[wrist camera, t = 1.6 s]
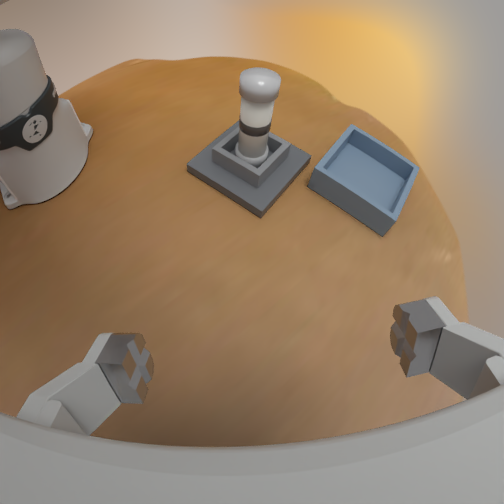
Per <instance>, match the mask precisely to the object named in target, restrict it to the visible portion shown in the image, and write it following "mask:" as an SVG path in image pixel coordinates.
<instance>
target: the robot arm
mask: <svg viewBox="0 0 504 504" xmlns="http://www.w3.org/2000/svg"><path fill="white" fill-rule="evenodd" d="M7 1H9V0H0V5H1V4H3V3H5V2H7ZM92 133H93V129H92V127H91V126H90V125H88V124H85V123H81V122H80V121H79V119H78V117H77V115H76V113H75V110H74V108H73V106H72V104H71V102H70V101H69V100H65V99H63V98H58V95H57V92H56V88H55V85H54V83H53V82H52V81H51V78H50V77H49V76H48V75H46V73H45V71H44V68H43V66H42V63H41V60H40V57H39V54H38V51H37V48H36V46H35V42H34V39H33V38H32V37H31V36H30V35H29V34H28V33H26V32H24V31H22V30H18V29H6V30H0V189H1V193H2V196H3V200H4V203H5V205H6V207H7V208H8V209H13V208H15V207H17V206H20V205H22V204H35V203H40V202H43V201H46V200H48V199H50V198H52V197H54V196H55V195H57V194H58V193H60V192H61V191H63V190H64V189H65V188H66V187H67V186H68V185H69V184H70V183H71V182H72V181H73V180H74V179H75V178H76V177H77V175H78V174H79V173H80V171H81V170H82V168H83V166H84V164H85V162H86V159H87V155H88V142H89V140H90V138H91V136H92ZM393 317H394V319H395V323H394V324H393V325H392V326H391V331H390V341H391V346H392V349H393V351H394V353H395V354H396V355H397V356H399V357H401V359H400V365H401V367H402V369H403V371H404V373H405V375H406V377H411V376H415V375H419V374H423V373H427V372H430V374H431V375H433V376H434V377H436V378H437V379H439V380H440V381H441V382H443V383H444V384H446V385H447V386H449V387H450V388H451V389H453V390H454V391H456V392H457V393H459V394H460V395H461V396H463V397H464V398H466V399H467V400H465V401H463V402H460V403H457V404H455V405H452V406H449V407H446V408H444V409H441V410H438V411H435V412H432V413H429V414H426V415H422V416H419V417H416V418H413V419H409V420H406V421H402V422H398V423H395V424H391V425H387V426H383V427H379V428H375V429H370V430H366V431H361V432H357V433H352V434H346V435H341V436H335V437H330V438H323V439H317V440H310V441H302V442H293V443H284V444H273V445H259V446H239V447H188V446H168V445H155V444H144V443H134V442H126V441H119V440H112V439H105V438H99V437H93V436H89V435H90V434H92V433H93V432H94V431H95V430H96V429H97V428H98V427H99V426H100V425H101V424H102V423H103V422H104V421H105V420H106V419H107V418H108V417H109V416H110V415H111V414H112V413H113V412H114V411H115V410H116V409H117V408H118V407H119V406H120V405H121V403H139V404H143V403H144V400H145V397H146V394H147V391H148V387H147V385H146V383H148V382H149V381H150V380H151V379H152V376H153V373H154V363H153V358H152V356H151V354H150V352H149V351H147V350H146V349H145V348H144V346H145V344H146V342H145V339H144V337H143V335H142V334H140V333H101V334H99V335H98V337H97V338H96V340H95V342H94V343H93V345H92V347H91V348H90V350H89V351H88V353H87V355H86V356H85V358H84V360H83V361H82V363H77V364H75V365H74V366H72V367H71V368H69V369H68V370H66V371H65V372H63V373H62V374H60V375H59V376H57V377H56V378H54V379H53V380H51V381H49V382H48V383H46V384H45V385H43V386H42V387H40V388H39V389H37V390H36V391H34V392H33V393H31V394H30V395H29V397H28V398H27V400H26V402H25V403H24V405H23V407H22V408H21V410H20V412H19V413H18V415H17V417H13V416H10V415H7V414H4V413H1V412H0V504H504V339H503V338H500V337H498V336H496V335H493V334H491V333H489V332H486V331H484V330H481V329H479V328H477V327H474V326H472V325H469V324H467V323H465V322H461V323H459V321H458V320H457V319H456V318H455V317H454V315H453V314H452V313H451V312H450V311H449V309H448V308H447V307H446V306H445V305H444V304H443V302H442V301H441V300H440V299H439V298H438V297H436V296H433V297H429V298H425V299H422V300H418V301H413V302H408V303H403V304H398V305H395V307H394V310H393Z"/></svg>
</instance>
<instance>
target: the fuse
mask: <svg viewBox="0 0 504 504" xmlns="http://www.w3.org/2000/svg"><path fill="white" fill-rule="evenodd" d="M280 82H281V78H280V76H279V75H278V74H277V73H276V72H274V71H272V70H269V69H266V68H250V69H246V70H244V71H243V72H242V73H241V75H240V86H239V93H240V95H241V96H242V97H241V111H240V119H239V140H238V142H237V144H236V150H235V156H237V157H239V158H240V159H242V160H244V161H246V162H247V163H249V164H251V165H252V166H254V167H256V168H257V169H258V168H259V167H260V166H261V165H262V164H263V163H264V162H265V161H266V160H267V156H268V150H269V149H268V145H267V142H268V136H269V131H270V127H271V121H272V112H273V106H274V100H275V99H277V97H278V94H279V88H280Z"/></svg>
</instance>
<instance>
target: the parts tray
mask: <svg viewBox="0 0 504 504" xmlns="http://www.w3.org/2000/svg"><path fill="white" fill-rule="evenodd" d="M418 170H419V167H418V166H416V165H415V164H413V163H412V162H411V161H409V160H408V159H406V158H405V157H403V156H402V155H400V154H399V153H397V152H396V151H394V150H393V149H391V148H390V147H388V146H387V145H385V144H384V143H382V142H380V141H379V140H377V139H376V138H374V137H372V136H371V135H369V134H368V133H366V132H364V131H363V130H361V129H359V128H357V127H356V126H354V125H352V124H351V125H350V126H349V127H348V129H347V130H346V131H345V132H344V133H343V134H342V136H341V137H340V138H339V139H338V140H337V141H336V143H335V144H334V145H333V146H332V147H331V149H330V150H329V151H328V152H327V153H326V154H325V156H324V157H323V158H322V159H321V160H320V162H319V163H318V164H317V165H316V166H315V167H314V170H313V173H312V176H311V178H310V181H309V184H308V186H307V187H309V188H310V189H312V190H313V191H315V192H317V193H318V194H320V195H321V196H323V197H324V198H326V199H327V200H329V201H331V202H332V203H334V204H335V205H337V206H338V207H340V208H341V209H343V210H344V211H346V212H347V213H349V214H350V215H352V216H353V217H355V218H356V219H358V220H359V221H361V222H362V223H364V224H365V225H366V226H368V227H369V228H371V229H372V230H374V231H375V232H376V233H378V234H379V235H381V236H382V237H383V236H384V234H385V233H386V232H387V231H388V230H389V229H390V228H391V227H392V225H393V224H394V223H395V222H396V220H397V218H398V216H399V214H400V212H401V209H402V207H403V205H404V203H405V201H406V198H407V196H408V194H409V192H410V189H411V187H412V185H413V182H414V180H415V178H416V175H417V173H418Z"/></svg>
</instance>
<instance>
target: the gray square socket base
mask: <svg viewBox="0 0 504 504" xmlns="http://www.w3.org/2000/svg"><path fill="white" fill-rule="evenodd" d="M238 140H239V121H238V122H236V123H235V124H234V125H233V126H231V127H230V128H229V129H228V130H226V131H225V132H224V133H223V134H221V135H220V136H219V137H218V138H217V139H215V140H214V141H213V142H212V143H211V144H209V145H208V146H207V147H206V148H205V149H203V150H202V151H201V152H200V153H199V154H198V155H196V156H195V157H194V158H193V159H192V160H191V161H190V162H188V163H187V171H188V172H190V173H191V174H193V175H194V176H196V177H197V178H199V179H201V180H202V181H204V182H205V183H207V184H209V185H210V186H212V187H213V188H215V189H216V190H218V191H220V192H221V193H223V194H224V195H226V196H227V197H229V198H231V199H232V200H234V201H235V202H237V203H238V204H240V205H241V206H243V207H244V208H246V209H248V210H249V211H251V212H252V213H254V214H255V215H257V216H258V217H260V218H261V217H262V216H263V215H264V214H265V213H266V212H267V211H268V209H269V208H270V207H271V206H272V205H273V204H274V202H275V201H276V200H277V199H278V198H279V197H280V196H281V194H282V193H283V192H284V191H285V190H286V189H287V187H288V186H289V185H290V184H291V183H292V182H293V181H294V179H295V178H296V177H297V176H298V175H299V174H300V173H301V171H302V170H303V169H304V168H305V167H306V166H307V165H308V163H309V162H310V159H311V155H309V154H308V153H306V152H304V151H303V150H301V149H299V148H297V147H296V146H294V145H292V144H291V143H289V142H287V141H285V140H284V139H282V138H280V137H278V136H276V135H274V134H273V133H271V132H269V136H268V142H267V145H268V149H269V150H268V156H267V160H266V161H265V162H264V163H263V164H262V165H261V166H260V167H259V168H258V169H257V168H256V167H254V166H252V165H251V164H249V163H247V162H246V161H244V160H242V159H240V158H239V157H237V156H235V150H236V144H237V142H238Z"/></svg>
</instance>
